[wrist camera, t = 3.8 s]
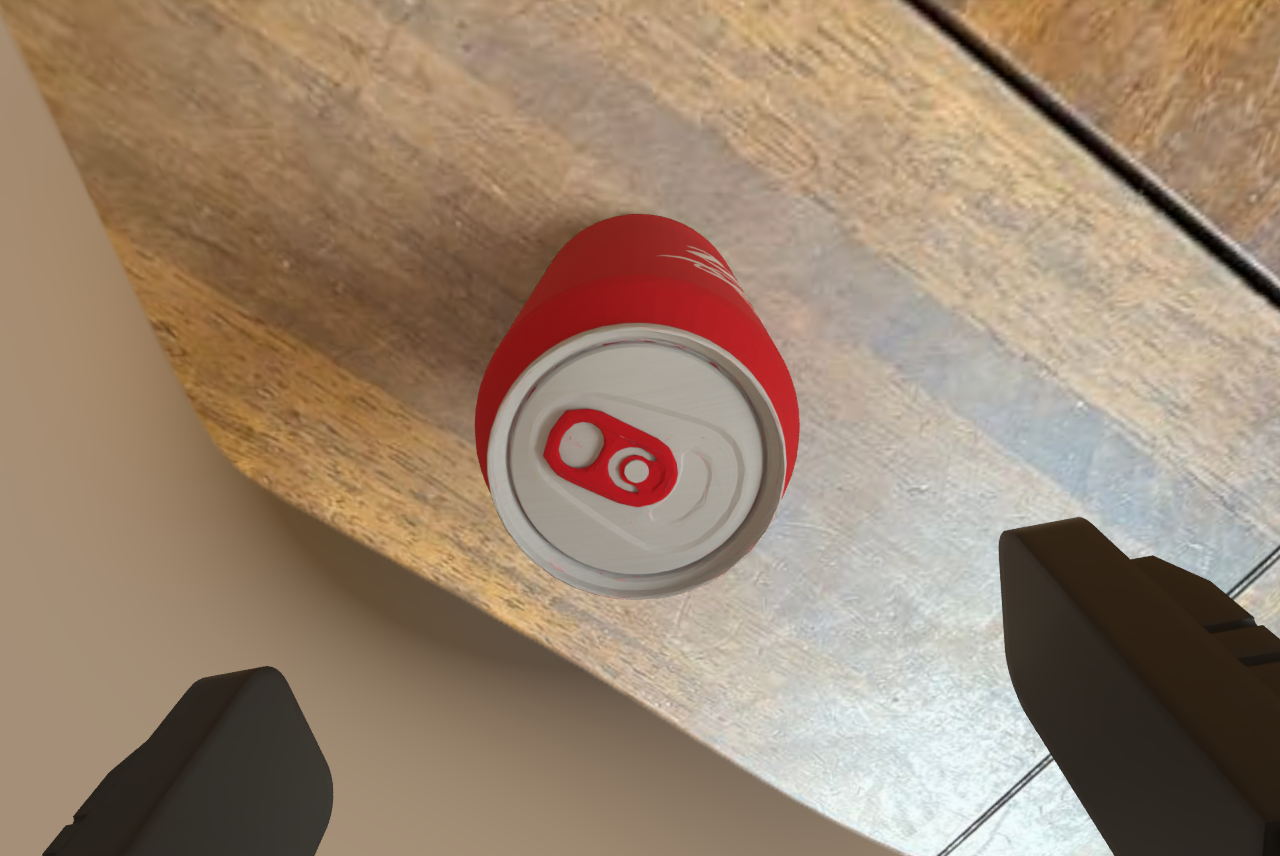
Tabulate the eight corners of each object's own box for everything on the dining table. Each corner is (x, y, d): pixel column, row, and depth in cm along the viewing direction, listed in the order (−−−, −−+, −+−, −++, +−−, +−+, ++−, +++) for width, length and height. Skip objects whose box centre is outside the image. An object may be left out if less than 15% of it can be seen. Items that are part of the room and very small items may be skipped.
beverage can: (679, 435, 26) (706, 674, 15) (508, 354, 25) (401, 544, 14) (775, 268, 24) (889, 400, 13) (593, 171, 23) (546, 224, 12)
